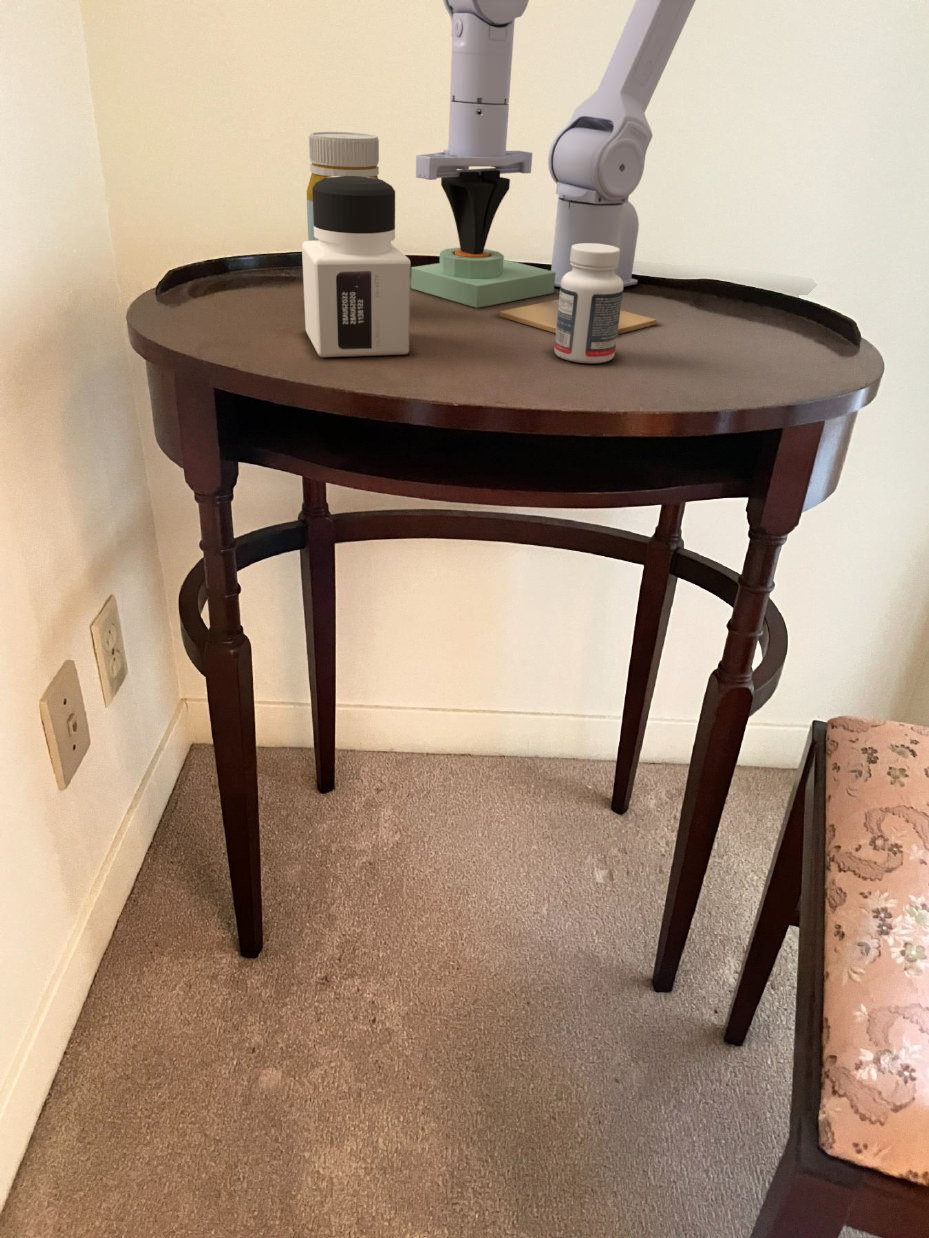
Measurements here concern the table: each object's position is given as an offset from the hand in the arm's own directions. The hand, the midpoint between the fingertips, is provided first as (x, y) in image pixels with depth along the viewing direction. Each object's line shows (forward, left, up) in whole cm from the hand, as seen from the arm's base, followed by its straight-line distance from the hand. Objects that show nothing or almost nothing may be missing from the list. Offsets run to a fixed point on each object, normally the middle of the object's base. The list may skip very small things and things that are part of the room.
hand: (471, 252), depth 93 cm
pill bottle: (+8, +22, -4) cm, 24 cm away
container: (+22, +8, -4) cm, 24 cm away
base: (-2, 0, -4) cm, 5 cm away
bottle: (+15, -2, -4) cm, 16 cm away
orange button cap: (0, 0, -2) cm, 2 cm away
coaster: (-1, +14, -4) cm, 15 cm away
